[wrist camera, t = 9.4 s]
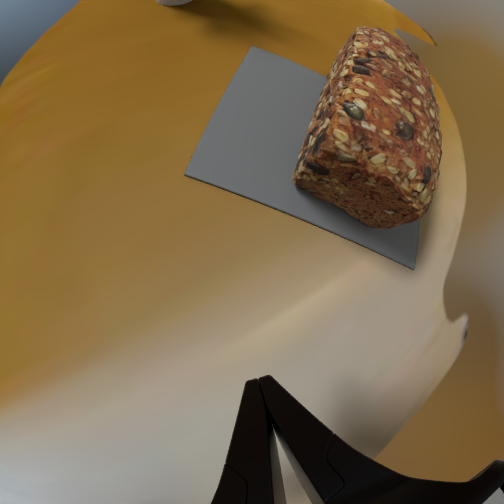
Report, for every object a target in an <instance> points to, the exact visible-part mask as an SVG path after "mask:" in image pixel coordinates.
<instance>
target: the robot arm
mask: <svg viewBox="0 0 504 504" xmlns="http://www.w3.org/2000/svg"><path fill="white" fill-rule="evenodd" d="M259 383H260V384H259ZM260 386H261V387H260ZM273 428H274V429H273ZM274 431H275V433H276V435H277V438H278V440H279V442H280V444H281V446H282V448H283V450H284V452H285V454H286V456H287V458H288V460H289V461H290V463H291V465H292V467H293V469H294V471H295V473H296V475H297V477H298V479H299V481H300V482H301V484H302V486H303V488H304V490H305V492H306V494H307V495H308V497H309V499H310V501H311V503H312V504H504V461H503V460H498V459H497V460H495V461H493V462H492V463H490V464H489V465H488V466H487V467H486V468H484V469H483V470H482V471H481V472H479V473H478V474H477V475H476V476H474V477H473V478H472V479H470V480H469V481H467V482H444V481H433V480H425V479H417V478H412V477H408V476H405V475H402V474H399V473H397V472H395V471H393V470H391V469H389V468H387V467H385V466H383V465H381V464H379V463H377V462H376V461H374V460H372V459H370V458H369V457H367V456H365V455H363V454H362V453H360V452H359V451H357V450H355V449H354V448H352V447H351V446H350V445H348V444H347V443H346V442H345V441H343V440H342V439H341V438H340V437H338V436H337V435H336V434H333V432H332V431H331V430H330V429H329V428H328V427H326V426H325V425H324V424H323V423H322V422H321V421H319V420H318V419H317V418H316V417H315V416H314V415H313V414H312V413H310V412H309V411H308V410H307V409H306V408H305V407H304V406H303V405H302V404H300V403H299V402H298V401H297V400H296V399H295V398H294V397H293V396H292V395H291V394H290V393H289V392H288V391H286V390H285V389H284V388H283V387H282V386H281V385H280V384H279V383H278V382H277V381H276V380H275V379H274V378H273V377H272V376H271V375H266V376H263V377H260V378H259V380H258V379H257V378H255V379H252V380H248V381H246V383H245V387H244V391H243V395H242V399H241V403H240V407H239V411H238V415H237V419H236V423H235V427H234V431H233V435H232V439H231V442H230V446H229V450H228V454H227V458H226V461H225V463H226V464H225V465H224V468H223V472H222V475H221V479H220V482H219V485H218V488H217V490H216V493H215V495H214V497H213V500H212V502H211V504H287V503H286V497H285V491H284V485H283V479H282V474H281V468H280V462H279V456H278V449H277V443H276V437H275V433H274Z"/></svg>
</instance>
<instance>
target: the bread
mask: <svg viewBox="0 0 504 504" xmlns="http://www.w3.org/2000/svg"><path fill="white" fill-rule="evenodd" d="M429 75H430V73H429V71H428V70H427V69H426V68H425V66H424V65H423V64H422V63H421V62H420V60H419V58H418V55H417V54H415V53H413V52H412V51H411V50H410V48H409V46H408V45H406V44H404V43H403V42H402V41H400V40H399V39H397V38H396V37H394V36H392V35H391V34H389V33H387V32H385V31H383V30H382V29H380V28H371V27H366V26H361V27H357V28H356V29H355V31H354V33H352V34H350V35H349V37H348V39H347V40H346V42H345V44H344V45H343V46H342V48H341V50H340V51H339V52H338V54H337V57H336V59H335V61H334V63H333V66H332V67H331V69H330V71H329V74H328V76H327V80H326V83H325V86H324V88H323V90H322V92H321V94H320V98H319V101H318V103H317V105H316V109H315V111H314V113H313V116H312V119H311V122H310V124H309V127H308V130H307V136H306V138H305V139H304V141H303V144H302V147H301V150H300V155H299V157H298V160H297V164H296V167H295V169H294V172H293V176H292V181H293V183H294V184H295V185H296V186H297V187H298V188H300V189H303V190H308V192H309V193H310V194H312V195H313V196H314V197H315V198H317V199H319V200H322V201H325V202H329V203H332V204H333V205H335V206H337V207H339V208H342V209H344V210H345V211H346V212H347V213H348V214H349V216H351V217H352V218H354V219H356V220H358V221H360V222H362V223H364V224H365V225H366V226H369V227H371V228H383V229H389V228H392V227H394V228H395V227H398V226H400V225H402V224H405V223H412V222H413V221H417V220H418V219H420V218H421V217H422V216H423V215H424V214H425V212H427V210H428V207H429V204H430V203H431V202H432V197H433V195H434V193H435V191H436V188H437V181H438V177H439V174H440V173H439V164H440V160H441V155H442V150H441V143H442V134H441V131H440V125H439V106H438V104H437V103H436V98H435V96H434V93H433V83H432V81H431V80H430V76H429Z"/></svg>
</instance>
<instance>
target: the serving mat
mask: <svg viewBox="0 0 504 504" xmlns="http://www.w3.org/2000/svg"><path fill="white" fill-rule="evenodd" d="M326 80H327V78H326V77H324V76H322V75H320V74H318V73H316V72H314V71H312V70H310V69H308V68H306V67H304V66H301V65H299V64H297V63H295V62H292V61H290V60H288V59H285V58H283V57H280V56H278V55H275V54H273V53H270V52H268V51H265V50H262V49H260V48H257V47H254V46H252V47H251V49H250V50H249V52H248V53H247V55H246V57H245V58H244V60H243V62H242V63H241V65H240V67H239V68H238V70H237V72H236V73H235V75H234V77H233V79H232V80H231V82H230V84H229V86H228V87H227V89H226V91H225V93H224V95H223V96H222V98H221V100H220V102H219V104H218V106H217V108H216V109H215V111H214V113H213V115H212V117H211V119H210V121H209V123H208V125H207V127H206V129H205V131H204V133H203V135H202V137H201V139H200V141H199V143H198V145H197V147H196V150H195V152H194V154H193V156H192V158H191V160H190V162H189V165H188V167H187V169H186V171H185V174H184V175H185V176H188V177H191V178H194V179H197V180H199V181H202V182H205V183H208V184H211V185H213V186H216V187H219V188H222V189H224V190H227V191H230V192H233V193H235V194H238V195H241V196H243V197H246V198H248V199H251V200H254V201H256V202H259V203H261V204H264V205H267V206H269V207H272V208H274V209H277V210H279V211H282V212H284V213H287V214H289V215H291V216H294V217H296V218H299V219H301V220H304V221H306V222H308V223H311V224H313V225H316V226H318V227H320V228H323V229H325V230H327V231H330V232H332V233H334V234H336V235H339V236H341V237H343V238H346V239H348V240H350V241H352V242H355V243H357V244H359V245H361V246H363V247H366V248H368V249H370V250H372V251H374V252H376V253H379V254H381V255H383V256H385V257H387V258H389V259H391V260H394V261H396V262H398V263H400V264H402V265H404V266H406V267H408V268H410V269H412V270H414V268H415V261H416V254H417V245H418V236H419V225H420V219H418V220H417V221H413V222H412V223H405V224H402V225H400V226H398V227H395V228H394V227H392V228H389V229H383V228H371V227H369V226H366V225H365V224H364V223H362V222H360V221H358V220H356V219H354V218H352V217H351V216H349V214H348V213H347V212H346V211H345V210H344V209H342V208H339V207H337V206H335V205H333V204H332V203H329V202H325V201H322V200H319V199H317V198H315V197H314V196H313V195H312V194H310V193H309V192H308V190H303V189H300V188H298V187H297V186H296V185H295V184H294V183H293V181H292V176H293V172H294V169H295V167H296V164H297V160H298V157H299V155H300V150H301V147H302V144H303V141H304V139H305V138H306V136H307V130H308V127H309V124H310V122H311V119H312V116H313V113H314V111H315V109H316V105H317V103H318V101H319V98H320V94H321V92H322V90H323V88H324V86H325V83H326Z"/></svg>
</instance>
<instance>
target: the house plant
mask: <svg viewBox="0 0 504 504" xmlns="http://www.w3.org/2000/svg"><path fill="white" fill-rule="evenodd" d="M191 1H192V0H157V2H158V3H160V4H162V5H169V6H174V5H182V4H186V3H189V2H191Z"/></svg>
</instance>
